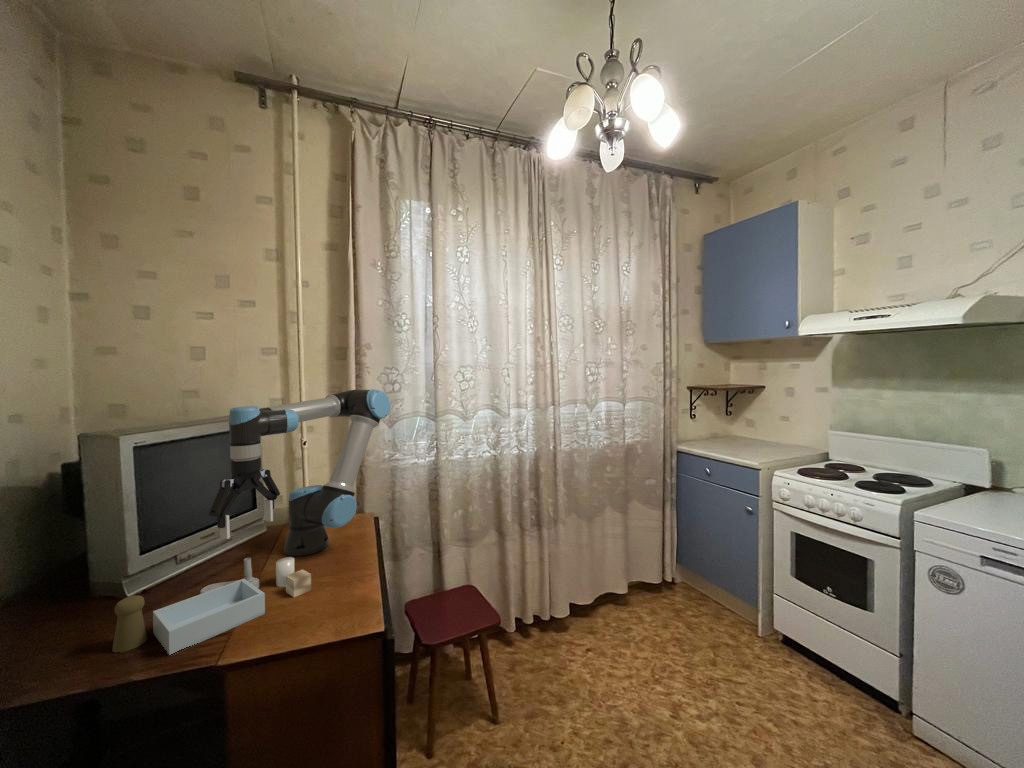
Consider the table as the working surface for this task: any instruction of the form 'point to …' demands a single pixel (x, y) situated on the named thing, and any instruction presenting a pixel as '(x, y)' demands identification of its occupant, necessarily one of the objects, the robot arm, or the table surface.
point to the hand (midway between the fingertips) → (248, 529)
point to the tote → (207, 615)
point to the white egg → (284, 570)
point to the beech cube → (298, 583)
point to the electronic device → (246, 576)
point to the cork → (129, 624)
